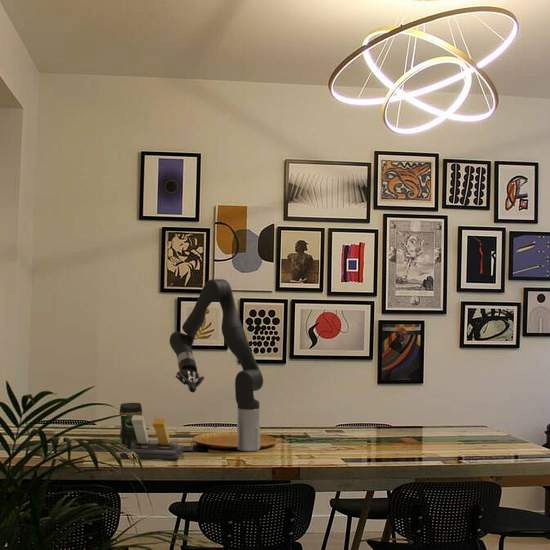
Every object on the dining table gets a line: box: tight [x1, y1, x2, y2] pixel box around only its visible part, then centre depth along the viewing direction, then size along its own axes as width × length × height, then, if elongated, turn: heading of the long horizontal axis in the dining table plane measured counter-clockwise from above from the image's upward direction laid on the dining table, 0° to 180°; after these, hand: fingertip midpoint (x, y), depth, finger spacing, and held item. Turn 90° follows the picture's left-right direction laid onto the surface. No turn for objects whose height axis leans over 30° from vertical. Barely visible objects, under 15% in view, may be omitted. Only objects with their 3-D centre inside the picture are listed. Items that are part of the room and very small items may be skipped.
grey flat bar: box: [119, 449, 180, 461], centre depth 306 cm, size 24×2×4 cm, turn 81°
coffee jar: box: [118, 402, 143, 447], centre depth 329 cm, size 10×8×19 cm
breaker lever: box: [152, 418, 172, 447], centre depth 309 cm, size 4×3×15 cm
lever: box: [131, 415, 151, 446], centre depth 311 cm, size 4×3×15 cm
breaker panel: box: [129, 440, 185, 457], centre depth 314 cm, size 20×12×5 cm, turn 81°
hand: (193, 390), depth 322 cm, fingers closed
